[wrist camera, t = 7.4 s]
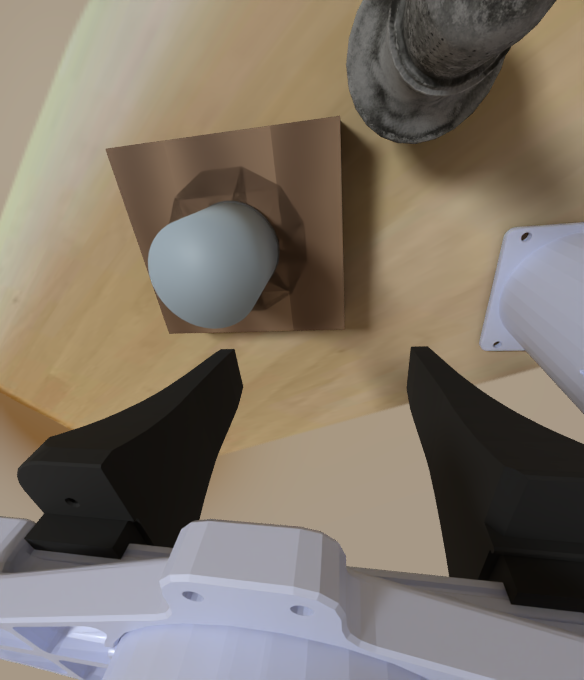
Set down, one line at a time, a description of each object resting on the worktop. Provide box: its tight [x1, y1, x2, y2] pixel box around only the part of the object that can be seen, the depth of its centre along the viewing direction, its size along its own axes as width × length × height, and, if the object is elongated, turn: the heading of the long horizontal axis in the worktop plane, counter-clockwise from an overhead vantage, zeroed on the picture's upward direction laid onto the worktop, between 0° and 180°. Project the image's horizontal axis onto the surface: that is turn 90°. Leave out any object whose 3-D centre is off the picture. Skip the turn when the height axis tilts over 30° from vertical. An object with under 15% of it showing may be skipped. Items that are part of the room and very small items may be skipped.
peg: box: [148, 200, 280, 329], centre depth 17 cm, size 5×5×7 cm
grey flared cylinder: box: [346, 0, 556, 144], centre depth 10 cm, size 6×6×12 cm
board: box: [106, 116, 345, 334], centre depth 19 cm, size 12×11×2 cm
